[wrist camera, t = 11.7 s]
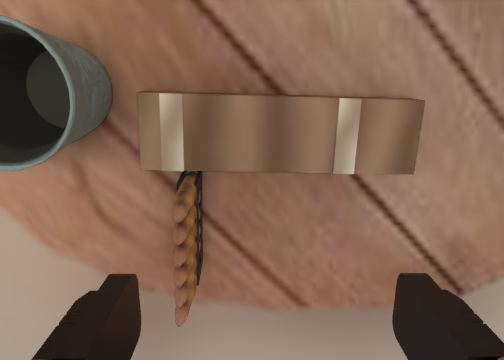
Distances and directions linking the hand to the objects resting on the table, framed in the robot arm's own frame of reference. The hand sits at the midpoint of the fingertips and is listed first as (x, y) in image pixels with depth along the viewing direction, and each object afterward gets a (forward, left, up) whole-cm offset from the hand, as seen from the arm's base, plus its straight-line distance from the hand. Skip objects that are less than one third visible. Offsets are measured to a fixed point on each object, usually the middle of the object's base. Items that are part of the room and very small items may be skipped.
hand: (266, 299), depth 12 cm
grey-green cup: (+17, -5, -27) cm, 32 cm away
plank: (-3, -1, -27) cm, 27 cm away
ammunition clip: (+5, +8, -27) cm, 29 cm away
